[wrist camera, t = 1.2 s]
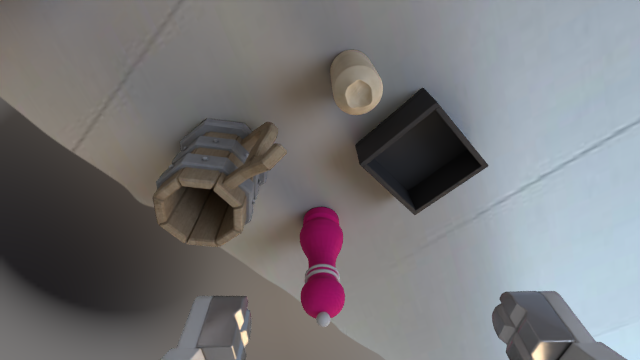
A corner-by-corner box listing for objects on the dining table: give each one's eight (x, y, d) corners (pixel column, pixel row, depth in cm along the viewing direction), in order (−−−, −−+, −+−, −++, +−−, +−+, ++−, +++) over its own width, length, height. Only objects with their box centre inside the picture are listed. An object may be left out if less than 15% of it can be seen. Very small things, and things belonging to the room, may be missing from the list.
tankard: (228, 203, 53) (201, 273, 41) (167, 151, 48) (114, 214, 35) (321, 139, 47) (324, 199, 34) (264, 69, 41) (242, 111, 29)
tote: (355, 145, 47) (359, 164, 43) (423, 87, 43) (436, 101, 38) (405, 193, 53) (414, 215, 48) (471, 146, 48) (488, 166, 43)
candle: (380, 66, 41) (396, 90, 33) (353, 99, 43) (361, 129, 35) (347, 39, 39) (356, 57, 31) (321, 75, 42) (323, 100, 33)
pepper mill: (295, 209, 54) (286, 314, 38) (335, 199, 53) (344, 303, 36) (307, 238, 58) (304, 345, 41) (345, 230, 57) (357, 336, 40)
